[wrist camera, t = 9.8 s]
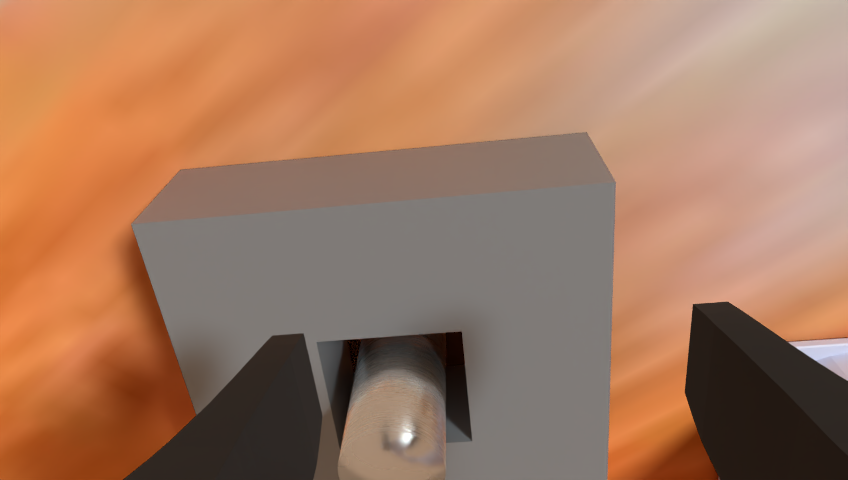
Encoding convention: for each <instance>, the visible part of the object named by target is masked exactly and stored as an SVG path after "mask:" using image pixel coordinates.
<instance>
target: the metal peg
mask: <svg viewBox="0 0 848 480" xmlns="http://www.w3.org/2000/svg"><path fill="white" fill-rule="evenodd" d="M338 476H339V479H340V480H445V476H446V333H432V334H419V335H405V336H391V337H378V338H364V339H361V343H360V348H359V354H358V359H357V365H356V370H355V375H354V381H353V386H352V391H351V397H350V402H349V408H348V413H347V418H346V424H345V429H344V434H343V440H342V445H341V451H340V456H339V461H338Z"/></svg>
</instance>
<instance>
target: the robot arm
mask: <svg viewBox="0 0 848 480" xmlns="http://www.w3.org/2000/svg"><path fill="white" fill-rule="evenodd" d="M685 394H686V397H687V400H688V404H689V407H690V410H691V413H692V416H693V419H694V422H695V424H696V427H697V430H698V433H699V436H700V438H701V441H702V443H703V445H704V448H705V450H706V452H707V454H708V456H709V458H710V460H711V462H712V464H713V466H714V468H715V470H716V472H717V474H718V476H719V478H718V480H848V338H839V339H825V340H811V341H796V342H787V341H785V340H784V339H782V338H781V337H779V336H778V335H777V334H775V333H774V332H772V331H771V330H769V329H768V328H766V327H765V326H763V325H762V324H761V323H759V322H758V321H756V320H755V319H753V318H752V317H750V316H749V315H747V314H746V313H744V312H743V311H741V310H740V309H738V308H737V307H735V306H734V305H732V304H731V303H729V302H717V303H704V304H693V311H692V322H691V332H690V343H689V353H688V364H687V375H686V385H685ZM322 417H323V416H322V411H321V407H320V402H319V398H318V394H317V389H316V385H315V381H314V376H313V372H312V367H311V363H310V359H309V354H308V350H307V346H306V341H305V337H304V333H299V334H286V335H273V336H271V337H270V338H269V339H268V340H267V341H266V343H265V344H264V345H263V346H262V347H261V348H260V349H259V350H258V351H257V352H256V353H255V355H254V356H253V357H252V358H251V359H250V360H249V361H248V362H247V363H246V364H245V366H244V367H243V368H242V369H241V370H240V371H239V372H238V373H237V374H236V375H235V376H234V378H233V379H232V380H231V381H230V382H229V383H228V384H227V385H226V386H225V387H224V388H223V389H222V390H221V391H220V392H219V393H218V394H217V396H216V397H215V398H214V399H213V400H212V401H211V402H210V403H209V404H208V405H207V406H206V407H205V408H204V409H203V410H202V411H201V412H200V413H198V414H197V415H196V416H195V417H194V418H193V419H192V420H191V421H190V422H189V423H188V424H187V425H186V426H185V427H184V428H183V429H182V430H181V431H180V432H179V433H178V434H177V435H176V436H175V437H173V438H172V439H171V440H170V441H169V442H168V443H167V444H166V445H165V446H163V447H162V448H161V449H160V450H159V451H158V452H157V453H155V454H154V455H153V456H152V457H151V458H149V459H148V460H147V461H146V462H145V463H143V464H142V465H141V466H140V467H138V468H137V469H136V470H135V471H133V472H132V473H131V474H130V475H128V476H127V477H126V478H125V479H123V480H313V478H314V474H315V470H316V466H317V459H318V452H319V444H320V435H321V426H322Z"/></svg>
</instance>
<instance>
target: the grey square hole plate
mask: <svg viewBox="0 0 848 480" xmlns="http://www.w3.org/2000/svg"><path fill="white" fill-rule="evenodd" d="M615 188H616V182H615V180H614V178H613V177H612V175H611V173H610V171H609V170H608V168H607V166H606V165H605V163H604V161H603V159H602V158H601V156H600V154H599V153H598V151H597V149H596V147H595V146H594V144H593V142H592V141H591V139H590V137H589V135H588V134H587V132H586V133H575V134H564V135H553V136H543V137H532V138H521V139H510V140H499V141H488V142H477V143H467V144H456V145H445V146H434V147H423V148H412V149H402V150H391V151H380V152H369V153H358V154H347V155H336V156H326V157H315V158H304V159H293V160H282V161H271V162H260V163H250V164H239V165H228V166H217V167H206V168H195V169H184V170H180V171H179V172H178V173H177V174H176V175H175V176H174V177H173V179H172V180H171V181H170V182H169V183H168V184H167V185H166V186H165V187H164V189H163V190H162V191H161V192H160V193H159V194H158V195H157V196H156V197H155V198H154V200H153V201H152V202H151V203H150V204H149V205H148V206H147V207H146V208H145V210H144V211H143V212H142V213H141V214H140V215H139V216H138V217H137V218H136V219H135V221H134V222H133V223H132V224H131V225H132V228H133V231H134V234H135V237H136V240H137V243H138V246H139V249H140V252H141V255H142V257H143V260H144V263H145V266H146V269H147V272H148V275H149V278H150V281H151V284H152V287H153V290H154V293H155V296H156V298H157V301H158V304H159V307H160V310H161V313H162V316H163V319H164V322H165V325H166V328H167V331H168V334H169V337H170V339H171V342H172V345H173V348H174V351H175V354H176V357H177V360H178V363H179V366H180V369H181V372H182V375H183V378H184V380H185V383H186V386H187V389H188V392H189V395H190V398H191V401H192V404H193V407H194V410H195V413H196V415H197V414H198V413H200V412H201V411H202V410H203V409H204V408H205V407H206V406H207V405H208V404H209V403H210V402H211V401H212V400H213V399H214V398H215V397H216V396H217V394H218V393H219V392H220V391H221V390H222V389H223V388H224V387H225V386H226V385H227V384H228V383H229V382H230V381H231V380H232V379H233V378H234V376H235V375H236V374H237V373H238V372H239V371H240V370H241V369H242V368H243V367H244V366H245V364H246V363H247V362H248V361H249V360H250V359H251V358H252V357H253V356H254V355H255V353H256V352H257V351H258V350H259V349H260V348H261V347H262V346H263V345H264V344H265V343H266V341H267V340H268V339H269V338H270V337H271V336H273V335H286V334H299V333H304V337H305V341H306V346H307V350H308V354H309V359H310V363H311V367H312V372H313V376H314V381H315V385H316V389H317V394H318V398H319V402H320V407H321V411H322V416H323V417H322V426H321V435H320V444H319V452H318V459H317V466H316V470H315V474H314V478H313V480H340V479H339V476H338V461H339V456H340V451H341V445H342V440H343V434H344V429H345V424H346V418H347V413H348V408H349V402H350V397H351V391H352V386H353V381H354V375H355V372H353V367H352V361H351V356H350V351H349V346H348V341H347V340H350V339H364V338H378V337H391V336H405V335H419V334H432V333H446V332H460V331H462V339H463V349H464V359H465V365H454V366H446V476H445V480H607V472H608V437H609V401H610V366H611V330H612V295H613V259H614V224H615Z"/></svg>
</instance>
